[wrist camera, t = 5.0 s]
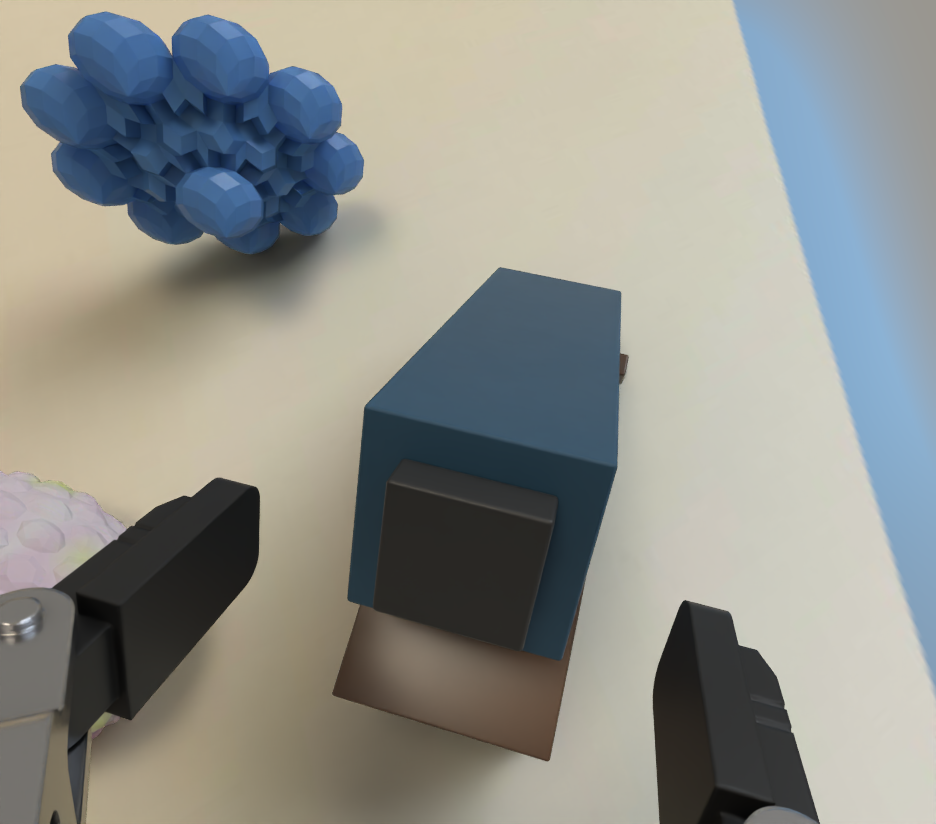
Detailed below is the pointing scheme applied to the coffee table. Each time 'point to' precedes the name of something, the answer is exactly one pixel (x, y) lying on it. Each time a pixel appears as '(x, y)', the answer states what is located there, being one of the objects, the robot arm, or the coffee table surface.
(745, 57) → the coffee table surface
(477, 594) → the steel blue prism
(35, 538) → the decorative item
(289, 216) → the grapes
